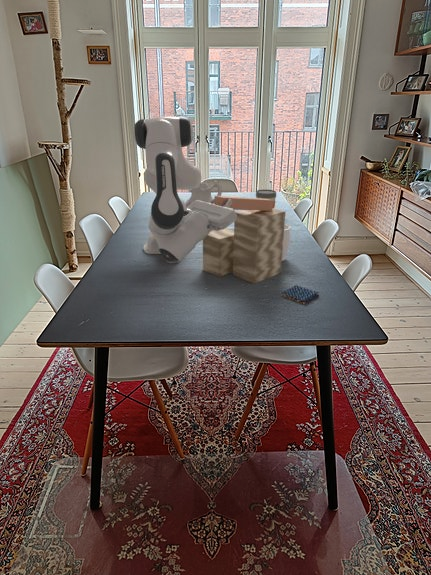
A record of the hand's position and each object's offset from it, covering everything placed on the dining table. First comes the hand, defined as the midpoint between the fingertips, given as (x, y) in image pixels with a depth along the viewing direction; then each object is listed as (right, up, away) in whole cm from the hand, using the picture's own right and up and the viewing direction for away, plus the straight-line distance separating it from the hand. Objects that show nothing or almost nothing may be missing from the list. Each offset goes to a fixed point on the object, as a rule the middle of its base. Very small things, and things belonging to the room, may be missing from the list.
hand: (224, 199), depth 141 cm
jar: (+24, -18, +42) cm, 52 cm away
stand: (+14, -25, +26) cm, 39 cm away
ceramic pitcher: (-10, +8, +97) cm, 98 cm away
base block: (-1, -23, +30) cm, 38 cm away
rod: (+7, -2, +8) cm, 11 cm away
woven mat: (+28, -35, +8) cm, 45 cm away
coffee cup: (-22, -19, +39) cm, 49 cm away
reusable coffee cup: (+27, +14, +110) cm, 114 cm away
